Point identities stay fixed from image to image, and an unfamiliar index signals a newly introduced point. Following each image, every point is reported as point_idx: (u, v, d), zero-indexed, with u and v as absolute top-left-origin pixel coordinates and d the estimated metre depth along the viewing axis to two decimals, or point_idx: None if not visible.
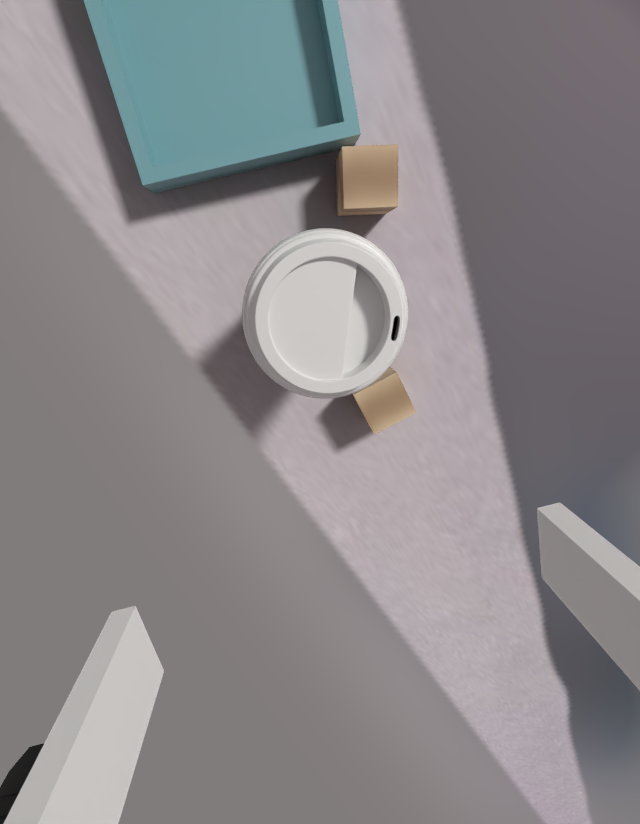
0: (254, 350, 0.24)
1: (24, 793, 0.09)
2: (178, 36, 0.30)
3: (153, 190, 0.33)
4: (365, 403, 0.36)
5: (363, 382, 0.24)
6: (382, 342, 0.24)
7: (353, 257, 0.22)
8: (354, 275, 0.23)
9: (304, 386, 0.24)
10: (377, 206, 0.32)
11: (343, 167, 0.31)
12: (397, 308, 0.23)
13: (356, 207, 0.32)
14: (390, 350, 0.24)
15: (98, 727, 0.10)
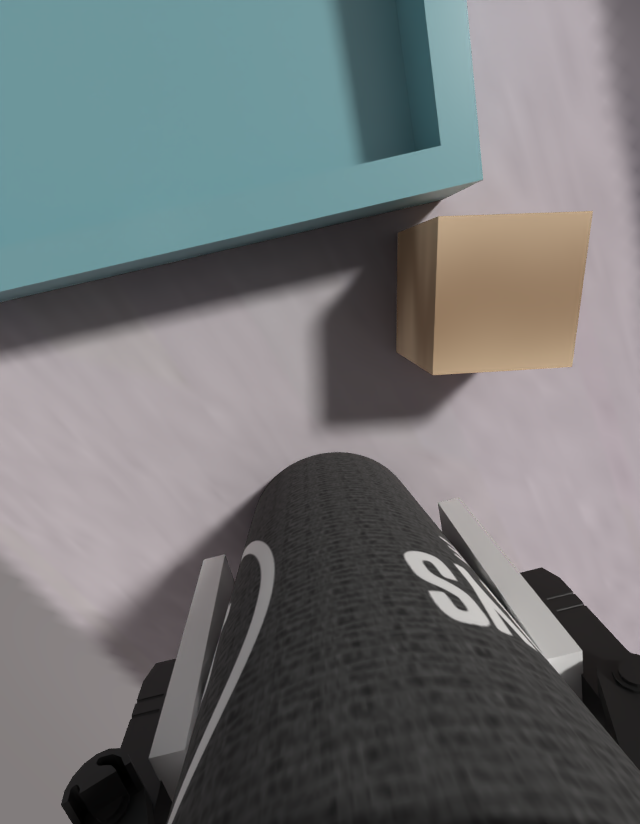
0: None
1: (173, 688, 0.10)
2: None
3: None
4: None
5: None
6: None
7: None
8: None
9: None
10: (519, 367, 0.12)
11: (437, 271, 0.11)
12: None
13: (465, 370, 0.12)
14: None
15: (215, 646, 0.12)
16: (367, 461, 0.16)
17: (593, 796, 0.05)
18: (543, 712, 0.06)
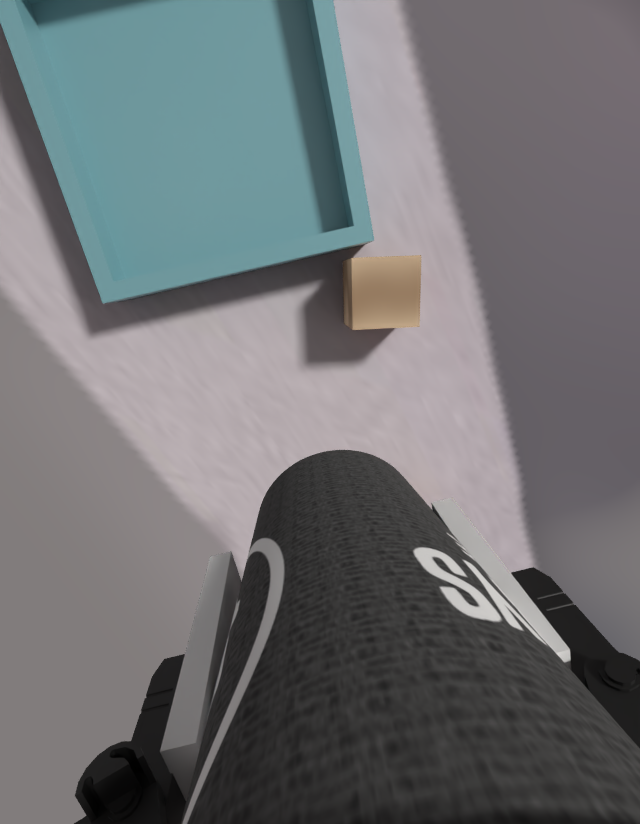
0: None
1: (182, 683, 0.10)
2: (148, 122, 0.24)
3: (119, 301, 0.27)
4: None
5: None
6: None
7: None
8: None
9: None
10: (394, 326, 0.26)
11: (352, 282, 0.25)
12: None
13: (368, 328, 0.26)
14: None
15: (223, 642, 0.12)
16: (372, 458, 0.16)
17: (611, 789, 0.05)
18: (558, 706, 0.06)
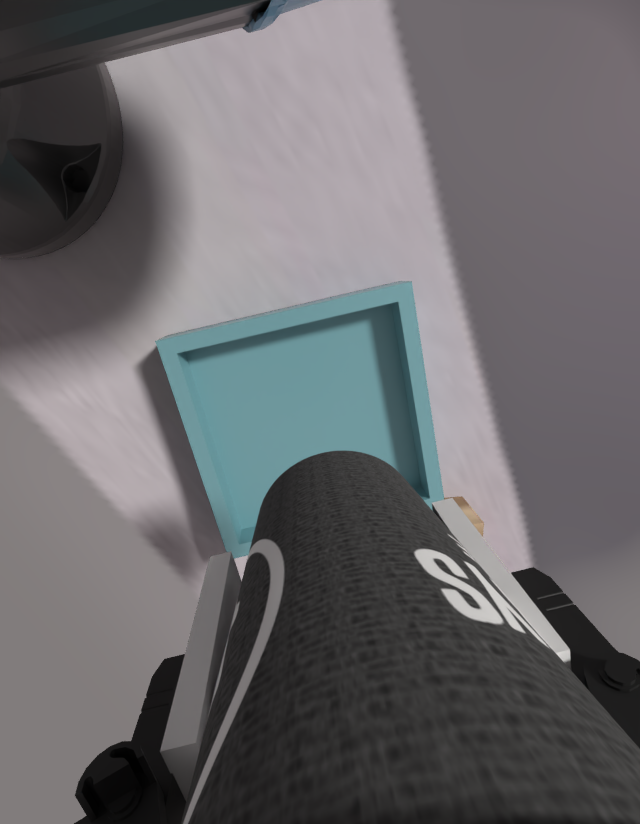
0: None
1: (182, 683, 0.10)
2: (267, 421, 0.30)
3: None
4: None
5: None
6: None
7: None
8: None
9: None
10: None
11: None
12: None
13: None
14: None
15: (223, 641, 0.12)
16: (372, 459, 0.16)
17: (615, 794, 0.05)
18: (561, 711, 0.06)
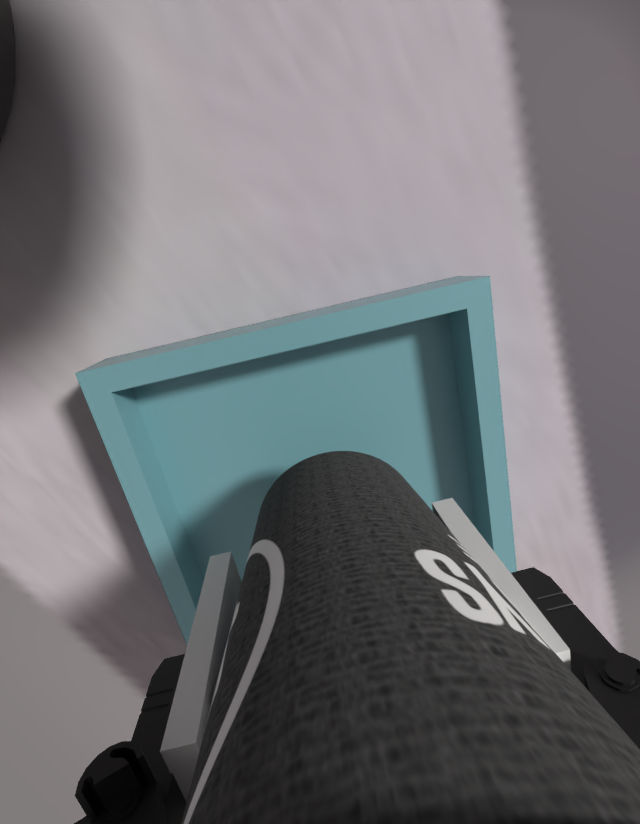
0: None
1: (182, 683, 0.10)
2: (259, 484, 0.20)
3: None
4: None
5: None
6: None
7: None
8: None
9: None
10: None
11: None
12: None
13: None
14: None
15: (223, 642, 0.12)
16: (372, 459, 0.16)
17: (615, 795, 0.05)
18: (562, 712, 0.06)
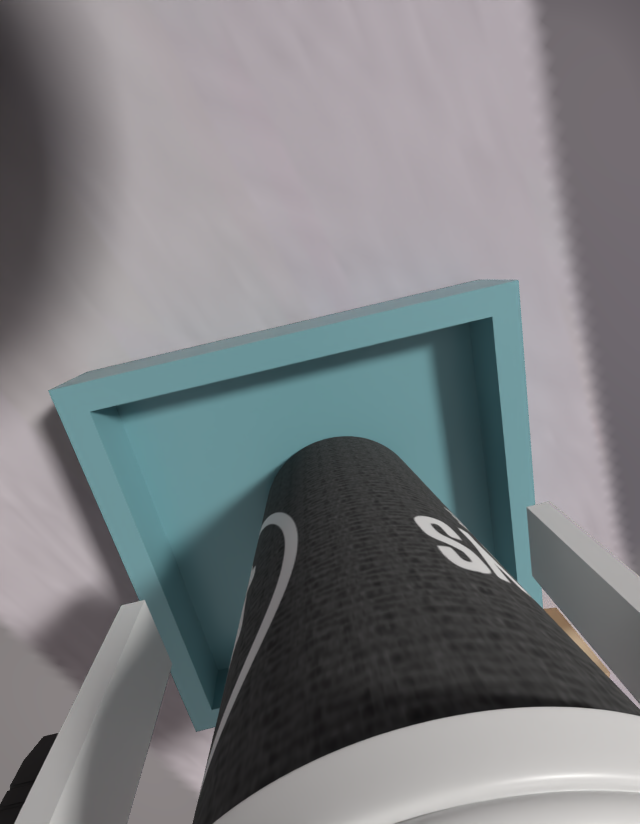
0: None
1: (41, 780, 0.09)
2: (258, 510, 0.18)
3: None
4: None
5: None
6: None
7: None
8: None
9: None
10: None
11: None
12: None
13: None
14: None
15: (111, 716, 0.11)
16: (375, 444, 0.17)
17: (576, 690, 0.06)
18: (537, 634, 0.07)
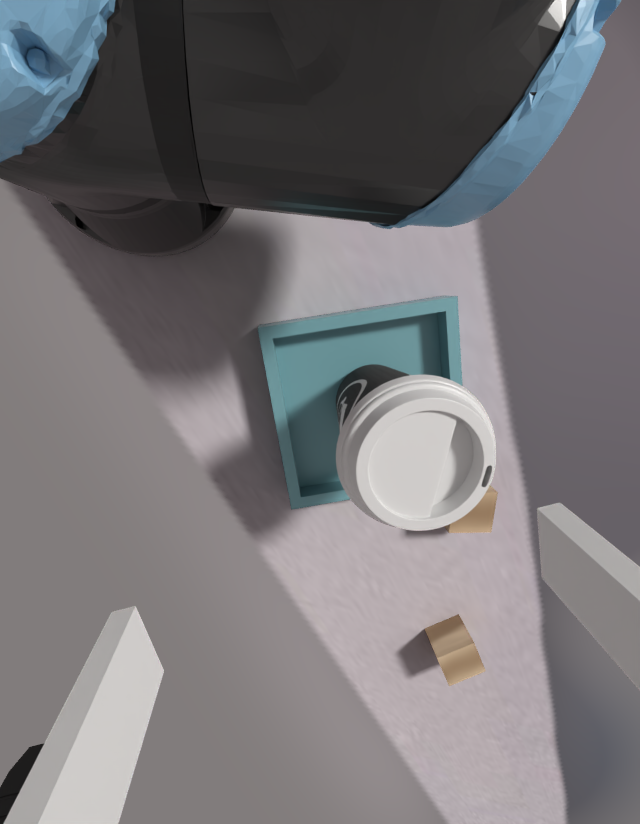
0: (347, 483, 0.25)
1: (24, 793, 0.09)
2: (331, 399, 0.38)
3: None
4: (445, 664, 0.43)
5: (450, 522, 0.25)
6: (471, 485, 0.25)
7: (456, 411, 0.23)
8: (454, 426, 0.24)
9: (394, 523, 0.25)
10: (475, 531, 0.39)
11: None
12: (491, 459, 0.24)
13: (458, 531, 0.39)
14: (479, 495, 0.25)
15: (98, 727, 0.10)
16: None
17: None
18: None
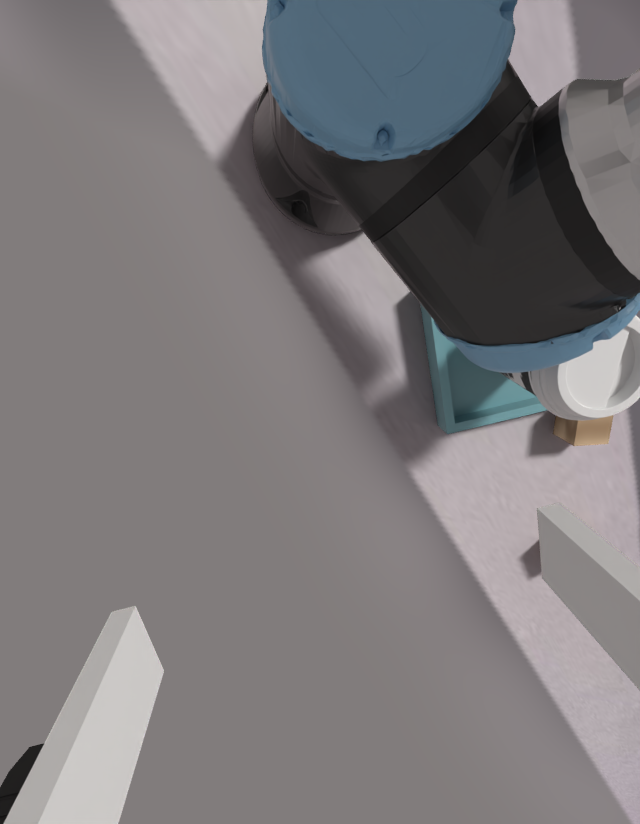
0: (543, 387, 0.34)
1: (24, 793, 0.09)
2: None
3: None
4: None
5: (622, 410, 0.34)
6: (636, 381, 0.34)
7: (630, 324, 0.32)
8: (627, 336, 0.32)
9: (581, 413, 0.33)
10: (595, 444, 0.48)
11: (577, 422, 0.47)
12: None
13: (581, 444, 0.48)
14: None
15: (98, 727, 0.10)
16: None
17: None
18: None
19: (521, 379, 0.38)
